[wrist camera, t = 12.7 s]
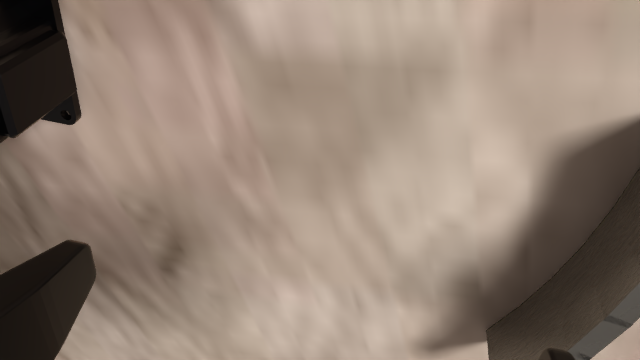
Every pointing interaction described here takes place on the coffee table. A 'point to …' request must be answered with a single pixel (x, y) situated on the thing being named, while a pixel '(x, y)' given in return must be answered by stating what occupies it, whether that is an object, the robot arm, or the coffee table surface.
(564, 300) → the gray curved bar
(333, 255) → the coffee table surface
